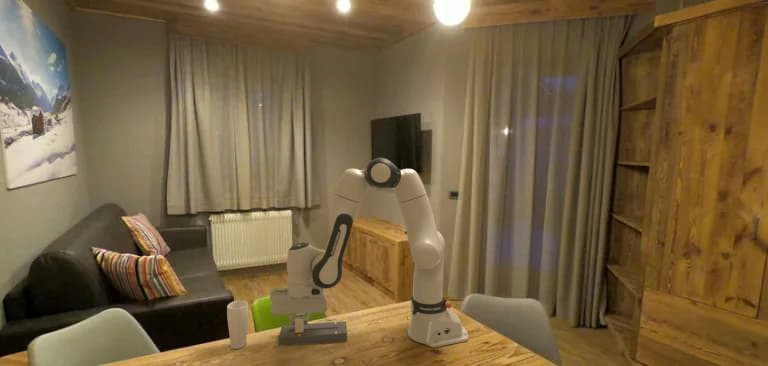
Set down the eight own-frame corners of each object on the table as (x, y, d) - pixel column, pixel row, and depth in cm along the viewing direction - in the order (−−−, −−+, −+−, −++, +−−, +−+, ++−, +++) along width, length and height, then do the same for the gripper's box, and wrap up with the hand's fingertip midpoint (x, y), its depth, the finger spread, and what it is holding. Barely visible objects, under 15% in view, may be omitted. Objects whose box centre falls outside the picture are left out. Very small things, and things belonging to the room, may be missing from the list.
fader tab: (304, 325, 135) (304, 312, 135) (303, 332, 130) (303, 318, 130) (296, 325, 135) (295, 312, 134) (294, 332, 130) (294, 319, 129)
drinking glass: (241, 352, 123) (240, 309, 122) (223, 349, 124) (222, 307, 123) (252, 341, 130) (251, 301, 128) (235, 339, 131) (234, 299, 130)
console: (345, 328, 140) (345, 321, 140) (347, 341, 131) (347, 332, 131) (282, 332, 136) (281, 325, 136) (278, 345, 127) (278, 337, 127)
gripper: (268, 292, 126) (269, 330, 128) (327, 290, 129) (327, 326, 131) (271, 285, 132) (271, 321, 134) (327, 283, 136) (327, 318, 137)
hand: (299, 324), depth 132 cm, fingers closed on fader tab, 3 cm apart
